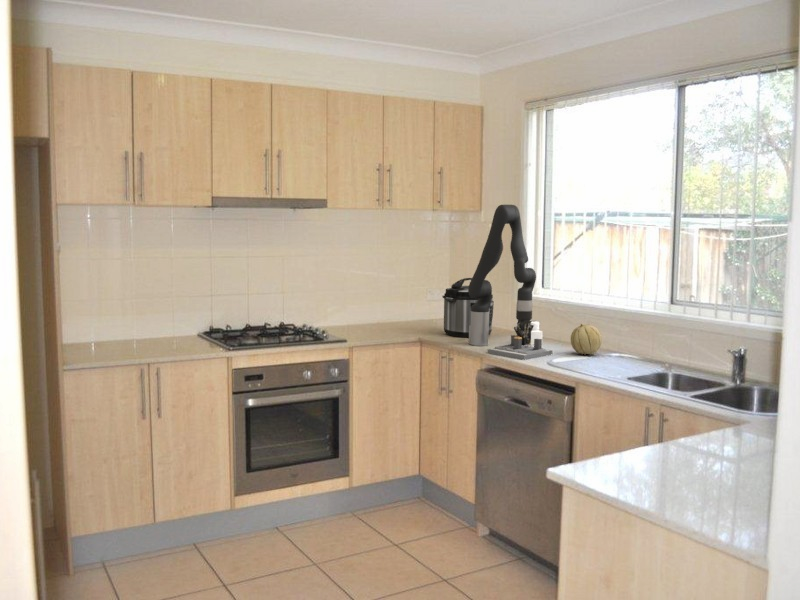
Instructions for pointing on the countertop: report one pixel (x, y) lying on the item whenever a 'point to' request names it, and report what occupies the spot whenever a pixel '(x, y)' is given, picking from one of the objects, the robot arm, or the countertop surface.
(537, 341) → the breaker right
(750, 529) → the countertop surface
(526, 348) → the panel
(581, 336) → the cantaloupe
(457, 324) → the pressure cooker
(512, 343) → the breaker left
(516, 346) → the post
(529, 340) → the medicine bottle
